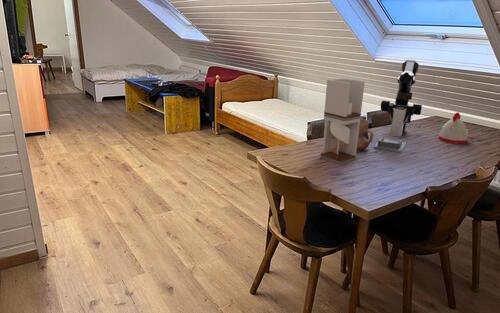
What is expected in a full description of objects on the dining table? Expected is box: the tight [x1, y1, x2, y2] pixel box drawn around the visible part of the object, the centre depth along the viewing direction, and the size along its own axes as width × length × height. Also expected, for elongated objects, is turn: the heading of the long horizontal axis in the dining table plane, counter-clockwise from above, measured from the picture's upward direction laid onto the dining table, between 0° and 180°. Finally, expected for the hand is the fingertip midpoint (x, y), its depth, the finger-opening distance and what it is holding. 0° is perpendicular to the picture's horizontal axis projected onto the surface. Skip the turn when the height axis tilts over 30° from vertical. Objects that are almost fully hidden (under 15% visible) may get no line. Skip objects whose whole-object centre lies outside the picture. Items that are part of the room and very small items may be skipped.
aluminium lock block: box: [389, 107, 406, 137], centre depth 193 cm, size 5×5×14 cm
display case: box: [319, 77, 366, 165], centre depth 173 cm, size 11×11×35 cm
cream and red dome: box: [437, 111, 469, 144], centre depth 212 cm, size 14×14×15 cm
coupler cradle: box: [373, 136, 407, 153], centre depth 199 cm, size 16×13×4 cm
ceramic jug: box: [356, 118, 374, 152], centre depth 191 cm, size 18×14×14 cm
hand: (397, 121), depth 192 cm, fingers closed on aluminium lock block, 5 cm apart
